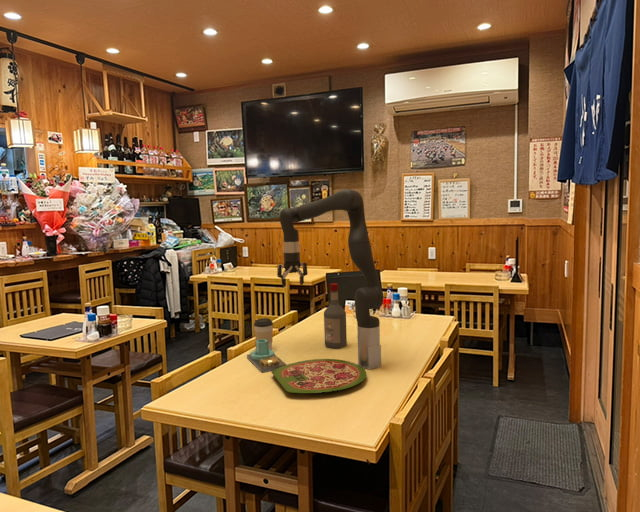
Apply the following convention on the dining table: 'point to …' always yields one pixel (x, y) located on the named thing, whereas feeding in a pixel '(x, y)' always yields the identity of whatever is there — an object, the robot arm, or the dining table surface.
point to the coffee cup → (264, 330)
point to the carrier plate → (265, 368)
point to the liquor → (335, 322)
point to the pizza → (319, 375)
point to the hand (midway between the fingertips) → (292, 285)
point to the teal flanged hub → (261, 350)
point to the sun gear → (269, 361)
